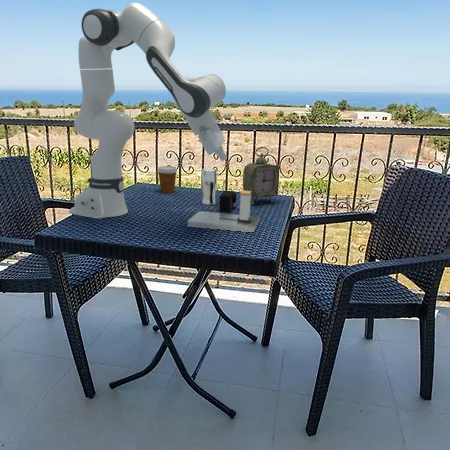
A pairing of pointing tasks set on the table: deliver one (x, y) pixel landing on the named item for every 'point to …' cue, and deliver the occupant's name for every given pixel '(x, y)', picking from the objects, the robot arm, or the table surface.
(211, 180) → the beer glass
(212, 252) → the table surface
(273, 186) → the tabletop clock
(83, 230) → the table surface
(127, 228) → the table surface
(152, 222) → the table surface
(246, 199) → the fader tab
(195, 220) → the plate
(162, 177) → the disposable coffee cup
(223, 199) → the digital camera
